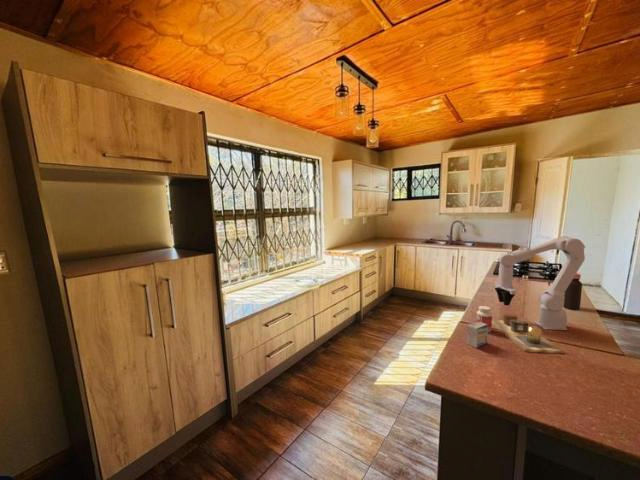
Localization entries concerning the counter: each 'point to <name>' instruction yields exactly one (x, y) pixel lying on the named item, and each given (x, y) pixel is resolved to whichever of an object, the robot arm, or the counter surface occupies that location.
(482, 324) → the medicine box
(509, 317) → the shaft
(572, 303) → the vinegar
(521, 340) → the clamp jig
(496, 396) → the counter surface
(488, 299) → the counter surface
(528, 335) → the cylinder
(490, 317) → the pill bottle
